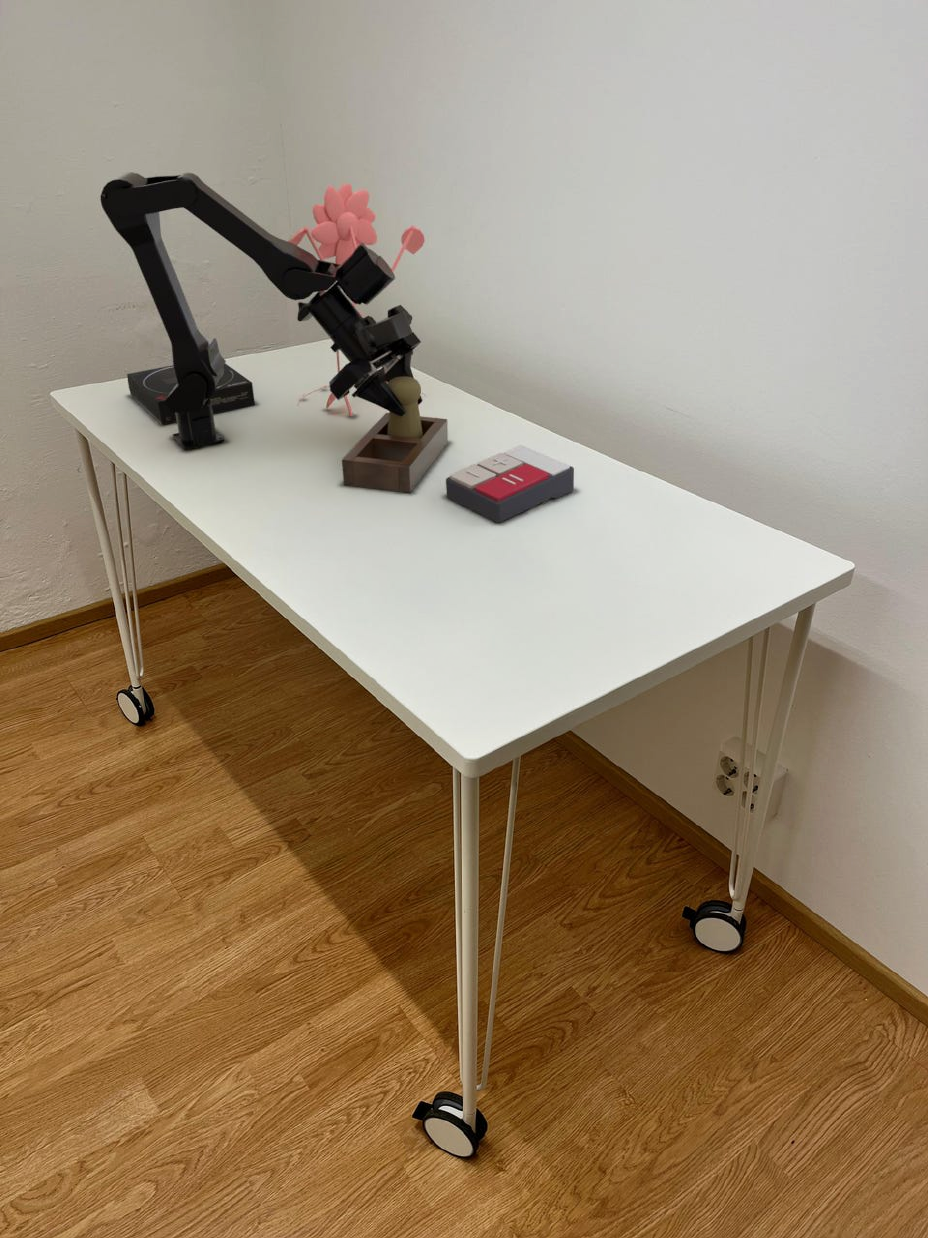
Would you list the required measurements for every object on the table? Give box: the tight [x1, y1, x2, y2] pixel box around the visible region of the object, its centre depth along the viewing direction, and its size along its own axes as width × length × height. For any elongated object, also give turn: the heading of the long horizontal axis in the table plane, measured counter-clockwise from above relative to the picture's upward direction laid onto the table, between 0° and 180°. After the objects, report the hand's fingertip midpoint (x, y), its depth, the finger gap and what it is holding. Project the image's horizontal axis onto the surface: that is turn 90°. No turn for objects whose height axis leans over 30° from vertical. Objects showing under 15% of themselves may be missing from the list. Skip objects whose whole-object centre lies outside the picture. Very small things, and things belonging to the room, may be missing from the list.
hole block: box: [341, 412, 449, 494], centre depth 148 cm, size 10×19×4 cm, turn 164°
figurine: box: [287, 182, 427, 417], centre depth 162 cm, size 15×26×35 cm, turn 128°
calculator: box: [445, 444, 575, 524], centre depth 139 cm, size 11×4×15 cm
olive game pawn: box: [387, 377, 423, 439], centre depth 149 cm, size 6×6×11 cm
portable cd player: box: [126, 362, 256, 426], centre depth 171 cm, size 16×17×4 cm
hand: (412, 408), depth 148 cm, fingers closed on olive game pawn, 5 cm apart
